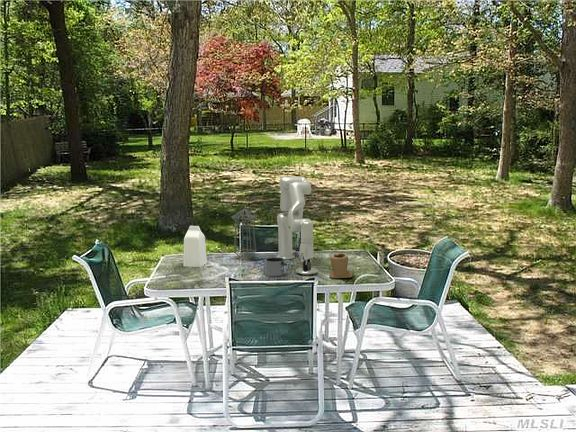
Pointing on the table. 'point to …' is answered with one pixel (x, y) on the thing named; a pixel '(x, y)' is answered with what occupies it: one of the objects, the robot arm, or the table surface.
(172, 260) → the table surface
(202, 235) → the milk
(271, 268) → the pot
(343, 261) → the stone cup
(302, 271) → the lid
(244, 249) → the geometric lantern
